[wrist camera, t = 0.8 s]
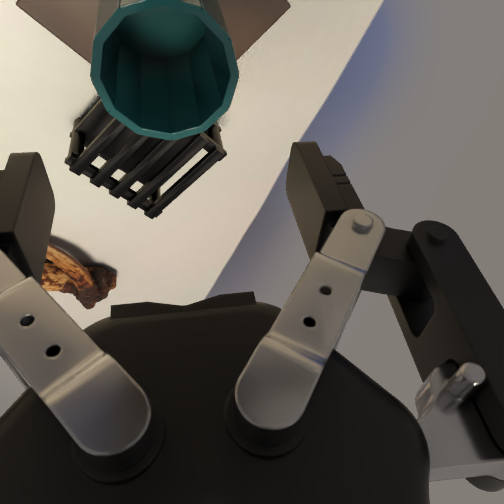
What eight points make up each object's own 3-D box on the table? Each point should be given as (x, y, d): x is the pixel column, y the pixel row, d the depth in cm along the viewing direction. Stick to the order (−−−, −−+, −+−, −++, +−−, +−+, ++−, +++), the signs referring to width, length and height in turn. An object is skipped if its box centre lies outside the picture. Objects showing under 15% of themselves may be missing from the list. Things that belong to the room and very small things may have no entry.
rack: (138, 47, 38) (137, 84, 33) (218, 118, 44) (228, 158, 39) (71, 123, 42) (63, 166, 37) (154, 179, 48) (156, 222, 43)
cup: (152, -91, 22) (157, -42, 16) (235, 6, 26) (265, 75, 20) (80, 5, 24) (60, 78, 18) (166, 80, 28) (173, 161, 22)
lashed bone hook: (124, 238, 54) (-47, 220, 47) (124, 266, 51) (-59, 250, 44) (113, 288, 60) (-40, 277, 53) (113, 315, 57) (-51, 308, 50)
